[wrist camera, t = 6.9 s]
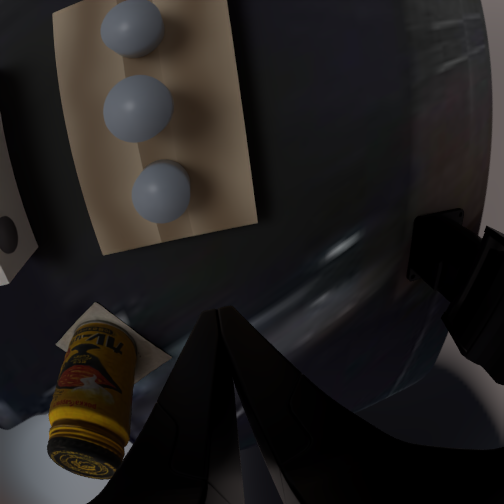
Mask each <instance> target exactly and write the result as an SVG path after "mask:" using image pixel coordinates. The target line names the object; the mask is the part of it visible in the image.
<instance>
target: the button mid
mask: <svg viewBox="0 0 504 504" xmlns="http://www.w3.org/2000/svg"><path fill="white" fill-rule="evenodd" d="M173 112H174V100H173V96H172V94H171V92H170V90H169V89H168V88H167V87H166V86H165V85H164V84H163V83H161V82H160V81H159V80H157V79H155V78H153V77H151V76H147V75H134V76H130V77H127V78H125V79H123V80H121V81H120V82H118V83H117V84H116V85H115V86H114V87H113V88H112V89H111V90H110V92H109V93H108V95H107V97H106V100H105V103H104V108H103V115H104V121H105V124H106V126H107V128H108V129H109V131H110V132H111V133H112V134H113V135H114V136H115V137H117V138H118V139H120V140H123V141H126V142H132V143H137V142H143V141H146V140H149V139H151V138H153V137H154V136H156V135H157V134H158V133H159V132H161V131H162V130H163V129H164V128H165V127H166V126H167V125H168V123H169V122H170V120H171V118H172V115H173Z"/></svg>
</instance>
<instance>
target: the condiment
mask: <svg viewBox="0 0 504 504" xmlns="http://www.w3.org/2000/svg"><path fill="white" fill-rule="evenodd" d="M56 345H57V346H58V347H60V348H61V349H63V350H64V351H66V352H67V353H66V355H65V360H64V362H63V365H62V368H61V372H60V375H59V379H58V382H57V385H56V389H55V393H54V395H53V400H52V402H51V406H50V409H49V414H48V415H49V421H50V424H51V426H52V427H51V428H50V431H49V441H48V445H47V450H48V455H49V456H50V458H51V459H52V460H53V461H54V462H55V463H56V464H57V465H59V466H61V467H62V468H64V469H66V470H68V471H70V472H72V473H74V474H77V475H80V476H84V477H88V478H94V479H101V480H103V479H111V477H112V476H113V474H114V473H115V471H116V470H117V468H118V467H119V465H120V464H121V462H122V460H123V457H124V455H125V453H124V447H125V446H126V445H127V444H128V441H129V438H130V425H131V415H132V413H131V411H132V396H133V387H134V384H135V383H136V382H138V381H139V380H141V379H142V378H143V377H145V376H146V375H148V374H149V373H150V372H151V371H153V370H155V369H156V368H158V367H159V366H161V365H162V364H163V363H165V362H167V361H168V360H170V359H171V358H172V357H171V356H169V355H168V354H166V353H164V352H163V351H162V350H161V349H159V348H157V347H155V346H154V345H153V344H151V343H150V342H149V341H147V340H145V339H144V338H143V337H142V336H140V335H139V334H138V333H136V332H135V331H134V330H133V329H131V328H130V327H129V326H127V325H126V324H124V323H123V322H122V321H121V320H119V319H118V318H117V317H115V316H114V315H113V314H111V313H110V312H108V311H107V310H106V309H105V308H104V307H102V306H101V305H99V304H98V303H96V302H95V303H94V304H93V305H92V306H91V307H90V308H89V309H88V310H87V311H86V312H85V313H84V314H83V315H82V316H81V317H80V318H79V319H78V320H77V321H76V322H75V324H74V325H73V326H72V327H71V328H70V329H69V330H68V331H67V332H66V334H65V335H64V336H63V337H62V338H61V339H60V340H59V342H58V343H57V344H56ZM138 352H139V354H138ZM140 356H141V357H140Z"/></svg>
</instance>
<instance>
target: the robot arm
mask: <svg viewBox="0 0 504 504" xmlns="http://www.w3.org/2000/svg"><path fill="white" fill-rule="evenodd" d="M463 216H464V211H463V210H462V209H460V208H457V209H452V210H447V211H442V212H437V213H432V214H427V215H422V216H418V217H417V218H416V219H415V221H414V228H413V236H412V244H411V251H410V258H409V265H408V271H407V279H408V280H409V281H414V280H417V279H420V278H422V279H423V280H424V281H425V282H426V283H427V284H428V285H429V286H431V287H432V288H433V289H434V290H438V291H439V292H440V293H441V294H442V295H443V296H444V297H445V298H446V299H447V300H448V301H449V302H451V303H450V305H449V307H448V309H447V310H446V312H444V314H443V315H442V317H441V319H442V320H443V322H444V324H445V326H446V328H447V329H448V331H449V333H450V335H451V336H452V338H453V340H454V342H455V343H456V345H457V347H458V349H459V351H460V353H461V354H462V355H463V356H464V357H466V359H468V360H470V361H472V362H474V363H476V364H478V365H480V366H482V367H483V368H484V369H485V370H486V371H487V373H488V374H489V375H490V376H491V377H492V378H493V380H494V381H495V382H496V383H498V384H501V385H504V234H503V233H501V232H499V231H497V230H495V229H493V228H490V227H488V226H486V228H485V231H484V232H485V233H484V236H483V238H480V237H479V236H477V235H476V234H474V233H473V232H471V231H470V230H468V229H467V228H465V227H463V226H462V222H463ZM419 222H420V223H419ZM232 377H233V378H232ZM233 381H234V383H233ZM234 384H235V387H236V390H237V392H238V395H239V398H240V400H241V403H242V406H243V408H244V411H245V413H246V416H247V418H248V421H249V423H250V426H251V428H252V431H253V433H254V436H255V438H256V441H257V443H258V446H259V448H260V450H261V453H262V455H263V457H264V460H265V462H266V465H267V467H268V469H269V472H270V474H271V476H272V478H273V481H274V483H275V485H276V488H277V490H278V492H279V494H280V496H281V499H282V501H283V503H284V504H504V447H502V448H497V449H490V450H474V449H456V448H445V447H434V446H426V445H418V444H412V443H408V442H404V441H401V440H399V439H396V438H394V437H392V436H390V435H388V434H386V433H384V432H383V431H381V430H379V429H378V428H376V427H375V426H373V425H371V424H370V423H368V422H366V421H365V420H363V419H362V418H360V417H359V416H357V415H356V414H354V413H352V412H351V411H349V410H348V409H346V408H345V407H343V406H342V405H340V404H339V403H338V402H336V401H335V400H333V399H332V398H331V397H329V396H328V395H327V394H325V393H324V392H323V391H322V390H321V389H319V388H318V387H317V386H316V385H315V384H313V383H312V382H311V381H310V380H309V379H308V378H307V377H306V376H305V375H303V374H302V373H301V372H300V371H299V370H298V369H297V368H296V367H295V366H294V365H293V364H292V363H291V362H289V361H288V360H287V359H286V358H285V357H284V356H283V355H282V354H281V353H280V352H279V351H278V350H277V349H276V348H275V347H274V346H273V345H272V344H271V343H270V342H268V341H267V340H266V339H265V338H264V337H263V336H262V335H261V334H260V333H259V332H258V331H257V330H256V329H255V328H254V327H253V326H252V325H251V324H250V323H249V322H248V321H247V320H246V319H245V318H244V317H243V316H242V315H241V314H240V313H239V312H238V311H237V310H236V309H235V308H234V307H233V306H226V307H221V308H218V310H216V309H211V310H206V311H203V312H202V313H201V314H200V316H199V318H198V320H197V322H196V324H195V326H194V328H193V330H192V332H191V334H190V336H189V338H188V340H187V342H186V344H185V346H184V348H183V350H182V352H181V354H180V356H179V358H178V360H177V362H176V364H175V366H174V368H173V370H172V372H171V374H170V376H169V378H168V380H167V382H166V384H165V386H164V388H163V390H162V392H161V394H160V396H159V398H158V400H157V402H158V403H156V404H155V406H154V408H153V410H152V412H151V414H150V416H149V418H148V420H147V422H146V423H145V425H144V427H143V429H142V431H141V432H140V434H139V436H138V437H137V439H136V441H135V442H134V444H133V445H132V447H131V449H130V450H129V452H128V453H127V455H126V456H125V458H124V459H123V461H122V462H121V464H120V465H119V467H118V468H117V470H116V471H115V473H114V474H113V476H112V477H111V479H110V480H109V482H108V483H107V485H106V486H105V487H104V489H103V490H102V491H101V492H100V493H99V495H97V496H96V497H95V498H94V499H93V500H91V501H90V502H89V503H87V504H245V500H244V491H243V482H242V472H241V463H240V462H241V461H240V451H239V440H238V429H237V418H236V406H235V393H234Z"/></svg>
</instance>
